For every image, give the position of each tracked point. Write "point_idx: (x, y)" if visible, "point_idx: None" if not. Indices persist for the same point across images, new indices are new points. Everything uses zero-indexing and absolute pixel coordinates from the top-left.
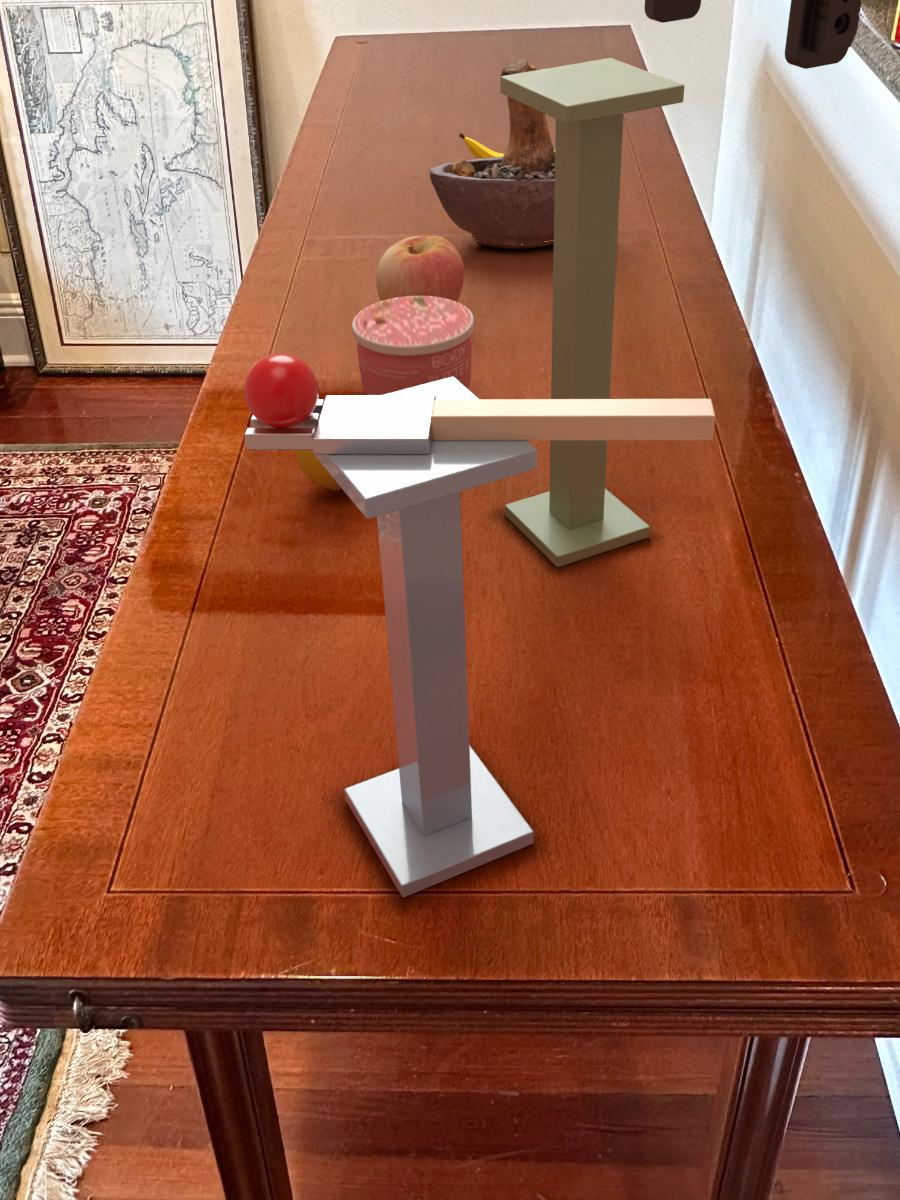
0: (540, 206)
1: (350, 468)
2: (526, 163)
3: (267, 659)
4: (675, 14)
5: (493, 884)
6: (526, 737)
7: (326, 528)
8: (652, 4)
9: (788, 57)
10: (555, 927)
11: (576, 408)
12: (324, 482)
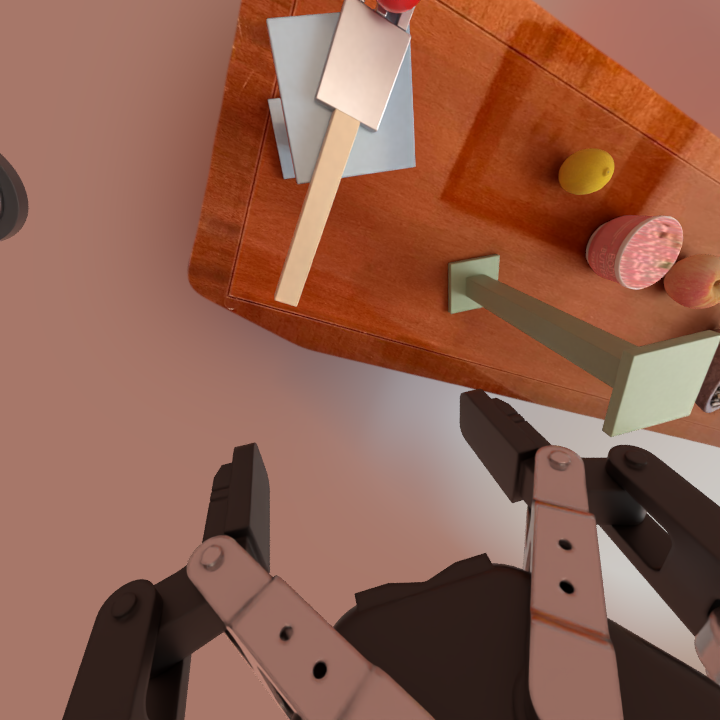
0: (709, 367)
1: (314, 23)
2: None
3: (450, 82)
4: (462, 412)
5: (265, 150)
6: (347, 202)
7: (535, 155)
8: (472, 396)
9: (248, 444)
10: (235, 169)
11: (311, 220)
12: (564, 161)
